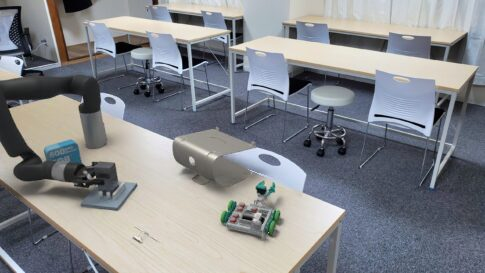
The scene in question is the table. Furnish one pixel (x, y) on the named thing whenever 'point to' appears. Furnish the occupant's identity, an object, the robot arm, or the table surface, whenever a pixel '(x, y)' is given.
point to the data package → (63, 152)
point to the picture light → (145, 233)
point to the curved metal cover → (211, 156)
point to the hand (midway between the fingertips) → (109, 176)
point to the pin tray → (109, 197)
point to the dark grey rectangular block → (107, 177)
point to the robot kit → (252, 214)
